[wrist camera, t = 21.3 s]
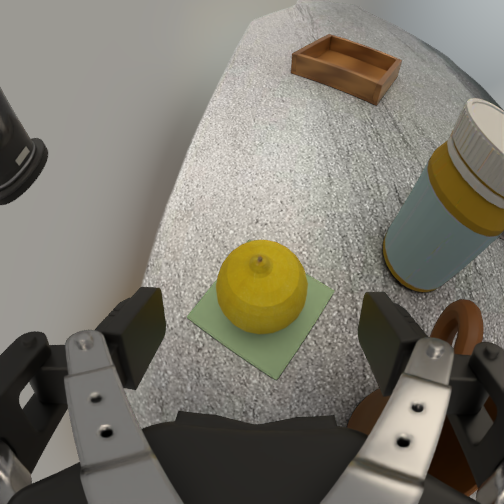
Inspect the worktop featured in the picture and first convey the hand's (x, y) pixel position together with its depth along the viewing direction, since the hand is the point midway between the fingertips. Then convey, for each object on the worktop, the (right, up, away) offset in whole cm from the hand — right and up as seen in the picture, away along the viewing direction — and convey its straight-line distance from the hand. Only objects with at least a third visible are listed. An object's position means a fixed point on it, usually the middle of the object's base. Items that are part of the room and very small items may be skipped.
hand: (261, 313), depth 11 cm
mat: (0, -2, +11) cm, 11 cm away
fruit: (0, -2, +10) cm, 11 cm away
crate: (+15, +31, +27) cm, 44 cm away
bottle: (+14, +2, +12) cm, 19 cm away
